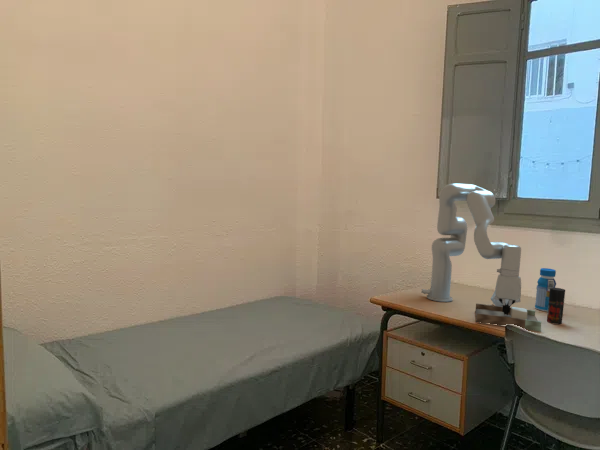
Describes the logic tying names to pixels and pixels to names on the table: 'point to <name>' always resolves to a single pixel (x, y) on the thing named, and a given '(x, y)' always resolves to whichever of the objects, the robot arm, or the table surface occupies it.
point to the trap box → (505, 317)
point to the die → (498, 303)
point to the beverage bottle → (544, 288)
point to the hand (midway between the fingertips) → (505, 313)
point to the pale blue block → (518, 313)
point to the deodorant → (556, 305)
